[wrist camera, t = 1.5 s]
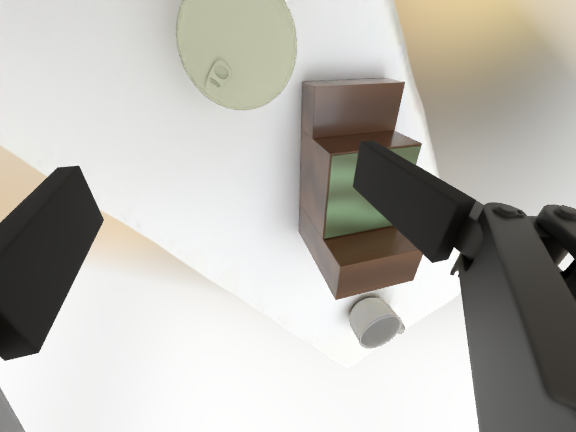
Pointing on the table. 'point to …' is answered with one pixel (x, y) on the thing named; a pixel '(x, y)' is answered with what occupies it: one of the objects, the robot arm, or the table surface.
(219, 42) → the can
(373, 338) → the teacup
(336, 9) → the table surface
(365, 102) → the shelf riser
